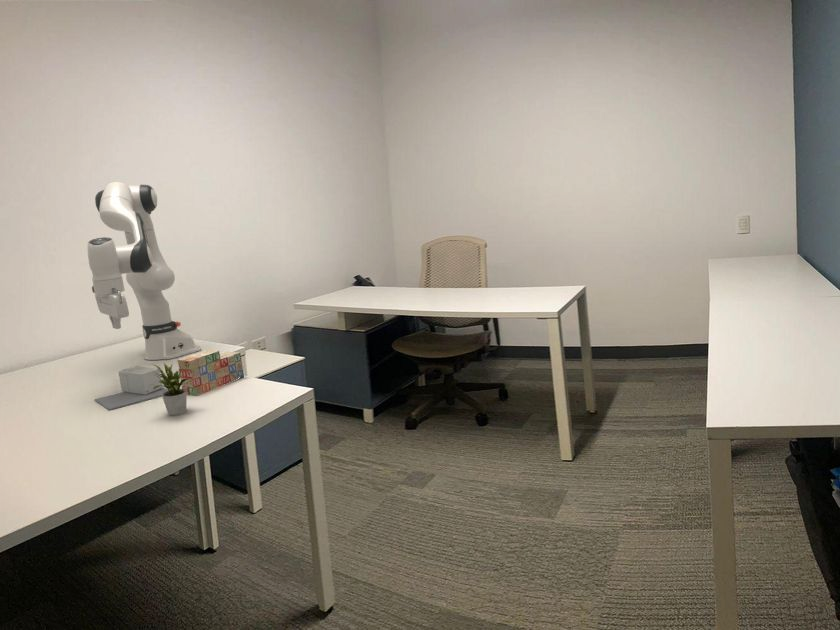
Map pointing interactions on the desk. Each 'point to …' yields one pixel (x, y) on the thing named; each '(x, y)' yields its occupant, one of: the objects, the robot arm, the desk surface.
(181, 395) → the house plant
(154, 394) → the mat
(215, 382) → the stack of blocks
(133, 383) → the supplement box
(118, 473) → the desk surface
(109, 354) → the desk surface
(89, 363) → the desk surface
